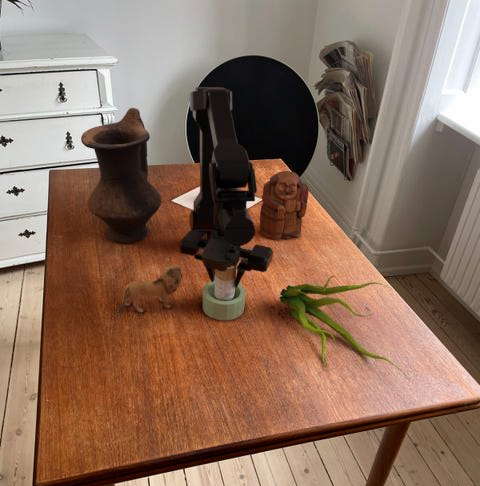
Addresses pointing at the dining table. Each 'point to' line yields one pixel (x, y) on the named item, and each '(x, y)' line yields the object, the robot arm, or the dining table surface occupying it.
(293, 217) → the wooden figurine
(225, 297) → the sprinkles bottle
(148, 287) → the lion figurine
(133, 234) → the jug
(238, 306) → the jar
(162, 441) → the dining table surface
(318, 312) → the decorative plant
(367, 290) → the dining table surface
